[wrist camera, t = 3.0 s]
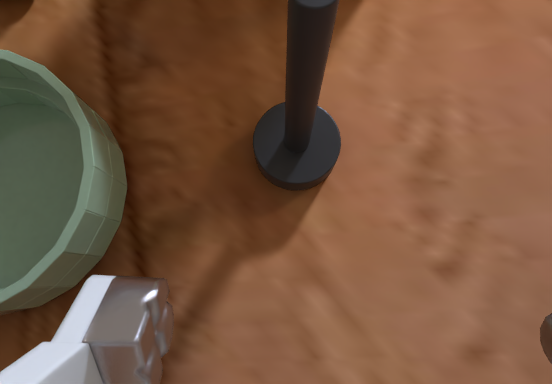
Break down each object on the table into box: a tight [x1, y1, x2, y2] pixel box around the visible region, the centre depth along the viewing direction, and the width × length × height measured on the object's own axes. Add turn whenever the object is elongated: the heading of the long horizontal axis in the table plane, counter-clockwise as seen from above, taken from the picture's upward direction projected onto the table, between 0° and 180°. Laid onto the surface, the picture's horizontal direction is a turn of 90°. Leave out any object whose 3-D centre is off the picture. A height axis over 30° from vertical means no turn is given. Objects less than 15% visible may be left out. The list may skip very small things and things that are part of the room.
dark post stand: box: [253, 0, 341, 190], centre depth 20 cm, size 6×6×16 cm
